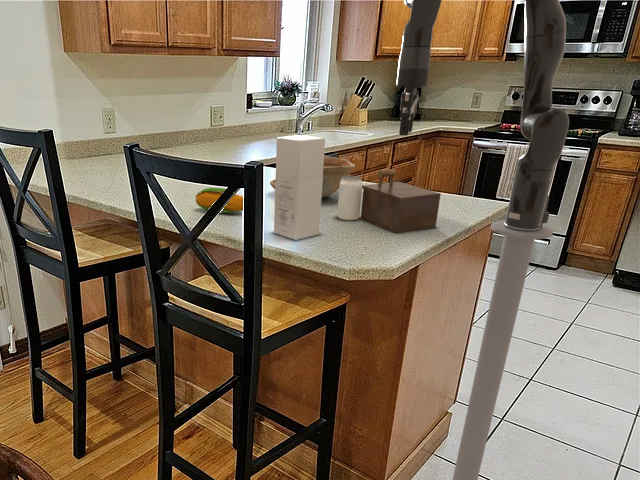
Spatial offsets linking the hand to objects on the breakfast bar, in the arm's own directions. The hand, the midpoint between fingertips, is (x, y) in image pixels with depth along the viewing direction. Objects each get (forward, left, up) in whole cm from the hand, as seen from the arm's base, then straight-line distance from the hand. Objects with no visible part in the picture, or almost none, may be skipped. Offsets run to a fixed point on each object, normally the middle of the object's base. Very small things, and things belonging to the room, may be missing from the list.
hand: (405, 133), depth 139 cm
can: (+8, -11, -25) cm, 29 cm away
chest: (-2, -1, -25) cm, 25 cm away
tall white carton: (+30, -3, -25) cm, 39 cm away
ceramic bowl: (+3, -41, -25) cm, 49 cm away
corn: (+39, -32, -25) cm, 57 cm away
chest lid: (-2, -2, -16) cm, 16 cm away
